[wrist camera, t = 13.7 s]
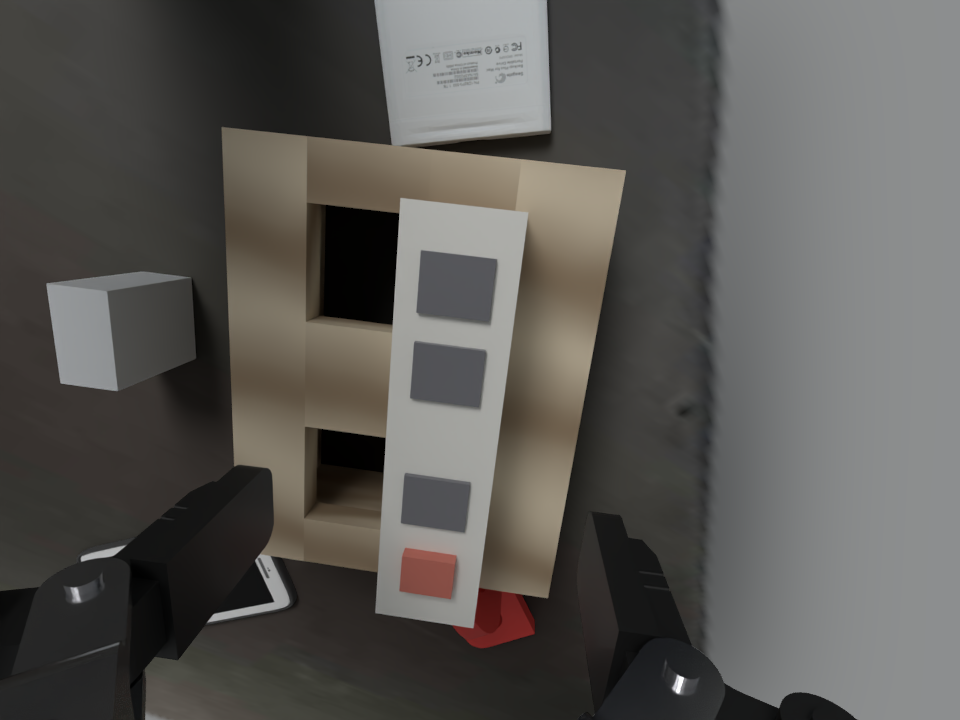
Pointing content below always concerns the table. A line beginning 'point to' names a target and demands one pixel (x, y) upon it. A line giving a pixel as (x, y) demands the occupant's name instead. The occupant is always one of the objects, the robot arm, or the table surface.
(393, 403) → the power strip
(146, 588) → the robot arm
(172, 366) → the block
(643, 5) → the table surface
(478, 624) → the bracket
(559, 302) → the wooden block with holes
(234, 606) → the cell phone
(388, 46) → the external hard drive
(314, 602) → the table surface
